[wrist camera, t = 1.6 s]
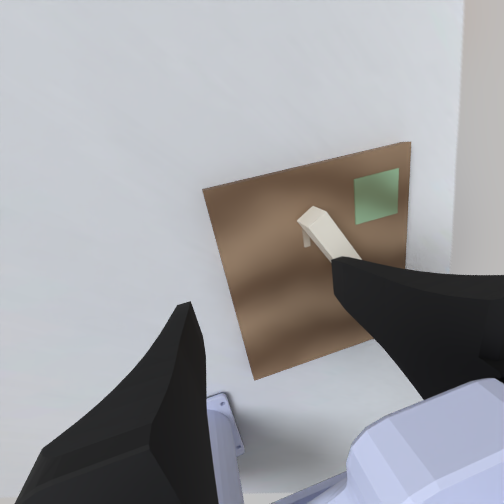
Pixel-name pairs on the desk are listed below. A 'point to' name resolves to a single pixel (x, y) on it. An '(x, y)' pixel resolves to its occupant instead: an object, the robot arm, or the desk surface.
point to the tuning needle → (326, 234)
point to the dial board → (306, 250)
